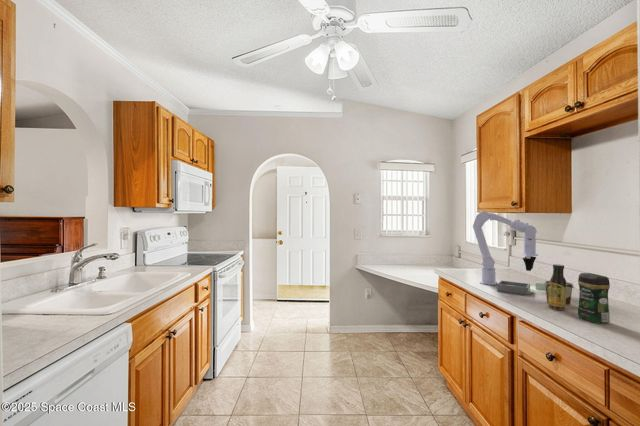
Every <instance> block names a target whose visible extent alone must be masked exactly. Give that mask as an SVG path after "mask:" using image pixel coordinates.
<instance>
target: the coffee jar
mask: <svg viewBox="0 0 640 426" xmlns="http://www.w3.org/2000/svg"><path fill="white" fill-rule="evenodd" d="M577 282H578V283H577V284H578V287H579V289H578V290H579V294H578V295H579V298H578V307H577V316H578V317H579V318H580V319H583V320H585V321H588V322H590V323H596V324H597V323H598V324H602V325H604V324H607V323H610V321H611V320H610V307H609V305H610V304H609V290H610V287H611V285H610V284H611V283H610V279H609V277H607V276H604V275H600V274H596V273H591V272H584V273H583V272H581V273H580V274H579V275H578V279H577Z"/></svg>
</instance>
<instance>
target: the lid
mask: <svg viewBox="0 0 640 426" xmlns="http://www.w3.org/2000/svg"><path fill="white" fill-rule="evenodd" d="M544 283H545V282H541V281H536V282H535V285H530V291H533V292H540V293H546V287H544Z"/></svg>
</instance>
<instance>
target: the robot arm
mask: <svg viewBox="0 0 640 426" xmlns="http://www.w3.org/2000/svg"><path fill="white" fill-rule="evenodd" d="M487 221H495V222H496V221H497V222H500V223H503V224H505V225H508V226H509V228H510V229H512V230H514V231H517V232H519V233H522V234H523V233H524V238H523V254H522V255H523V256H524V257H522V260H523V262H524V265H525V270H526V271H528V272H532V270H533V268H534V265H535V260H536V259H537V257H538V256H539V254H537V250H536V247H537V241H536V240H537V239H536V238H537V237H536V236H537V235H536V234H537V229H536V227H535V226H533V225H531V224H529V223H528V222H527V223H526V222H523V221H520V219H512V220H511V219H509V218H507V217H504V216H501V215H500V214H497V213H493V212H488V211H487V210H486V211H484V210H481V211H480V212H478V214H477V215H475V218H474V221H473V225H472V228H473V231H474V235H475V238H476V241H477V244H478V248H479V250H480V253H481V258H482V266H481V282H479V284H480V285H481V284H482V285H490V286H496V285H497V284H498V281H496V280H497V279H496V278H497V277H496V268H495V267H494V266H495V259H494V258H493V257H492V255H491V252H490V250H489V247H488V244H487V243H488V242H487V239H486V236H485V234H484V231H483V226H484V224H485V223H486V222H487Z"/></svg>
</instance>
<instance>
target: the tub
mask: <svg viewBox="0 0 640 426" xmlns="http://www.w3.org/2000/svg"><path fill="white" fill-rule="evenodd" d="M530 286H531V284H530V283H525V282H518V281H510V280H509V281H508V280H500V281H499V282H497V290H496V291H497V292H499V293H500V292H501V293H508V294H514V295H522V296H529V294H530V292H531V290H530Z"/></svg>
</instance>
